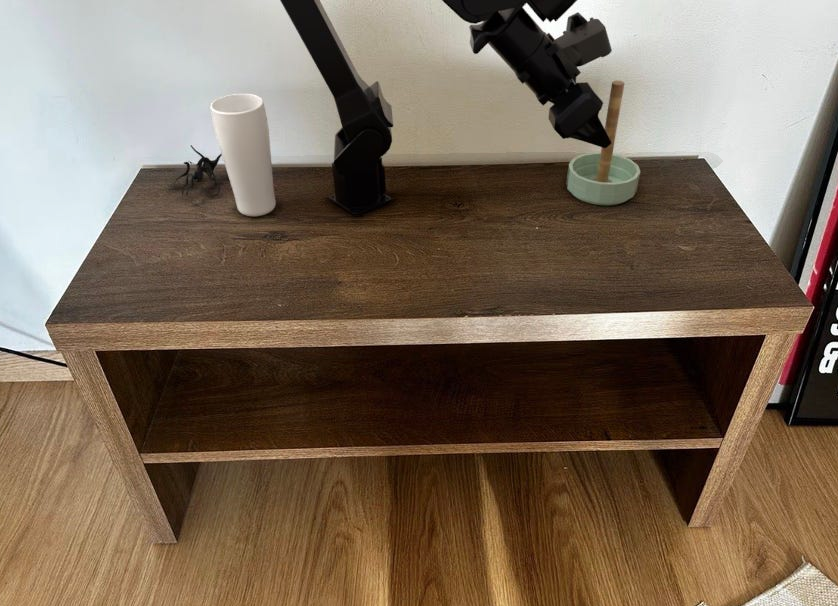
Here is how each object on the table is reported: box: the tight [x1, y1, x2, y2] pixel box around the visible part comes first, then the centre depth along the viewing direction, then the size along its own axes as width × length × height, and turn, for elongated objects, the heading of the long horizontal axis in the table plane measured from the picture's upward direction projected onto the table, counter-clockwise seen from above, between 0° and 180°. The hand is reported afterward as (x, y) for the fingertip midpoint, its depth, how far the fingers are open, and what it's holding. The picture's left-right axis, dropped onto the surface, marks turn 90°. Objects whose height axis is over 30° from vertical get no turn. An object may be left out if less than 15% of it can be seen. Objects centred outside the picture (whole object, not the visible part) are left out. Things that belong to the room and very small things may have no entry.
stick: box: [592, 80, 625, 183], centre depth 96 cm, size 3×3×15 cm
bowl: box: [566, 152, 641, 206], centre depth 100 cm, size 10×10×4 cm
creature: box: [173, 144, 222, 198], centre depth 101 cm, size 8×5×8 cm
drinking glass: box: [209, 93, 277, 218], centre depth 93 cm, size 7×7×15 cm
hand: (599, 130), depth 95 cm, fingers open, 9 cm apart
